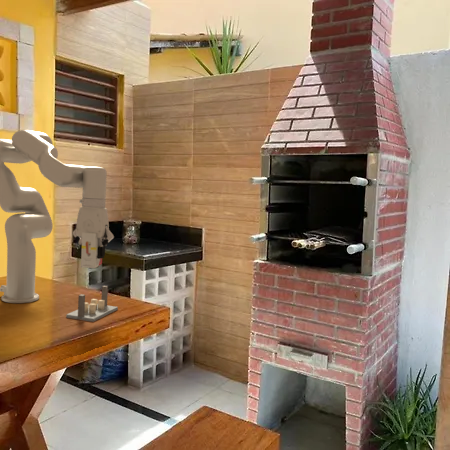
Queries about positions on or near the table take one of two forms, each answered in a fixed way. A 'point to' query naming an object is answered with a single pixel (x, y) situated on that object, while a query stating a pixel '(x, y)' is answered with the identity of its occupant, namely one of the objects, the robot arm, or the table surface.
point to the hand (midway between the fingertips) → (92, 256)
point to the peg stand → (92, 308)
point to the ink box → (90, 250)
